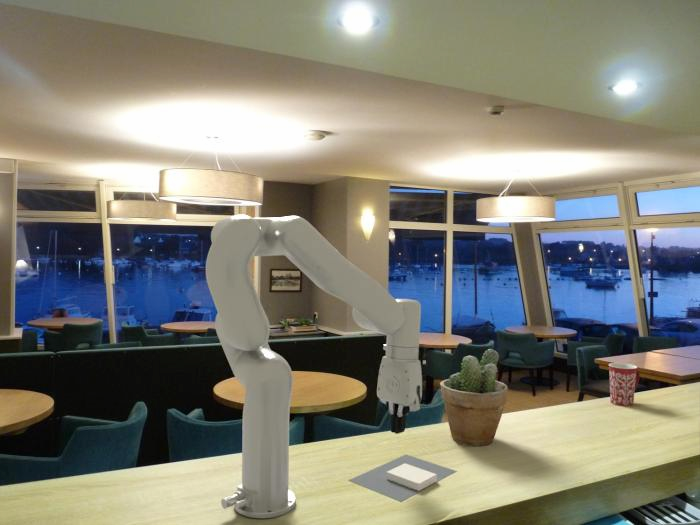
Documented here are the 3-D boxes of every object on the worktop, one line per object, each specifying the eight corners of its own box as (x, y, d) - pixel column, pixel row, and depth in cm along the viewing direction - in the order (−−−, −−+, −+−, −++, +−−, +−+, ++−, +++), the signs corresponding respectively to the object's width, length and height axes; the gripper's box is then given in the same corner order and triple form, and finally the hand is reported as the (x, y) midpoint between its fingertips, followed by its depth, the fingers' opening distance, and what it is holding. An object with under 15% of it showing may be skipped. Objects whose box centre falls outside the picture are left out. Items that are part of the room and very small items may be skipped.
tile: (386, 479, 125) (418, 491, 119) (386, 471, 125) (418, 483, 119) (404, 470, 130) (436, 481, 124) (404, 463, 130) (436, 474, 124)
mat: (401, 503, 114) (401, 501, 114) (348, 482, 124) (348, 480, 124) (456, 472, 130) (456, 471, 130) (405, 455, 140) (405, 454, 140)
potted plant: (496, 456, 141) (498, 360, 140) (428, 443, 150) (430, 352, 149) (513, 436, 157) (515, 349, 156) (451, 424, 166) (453, 343, 165)
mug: (623, 408, 186) (624, 369, 186) (601, 401, 195) (602, 363, 194) (649, 404, 191) (650, 366, 191) (627, 397, 200) (628, 361, 199)
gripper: (367, 349, 128) (362, 427, 128) (419, 359, 118) (414, 444, 118) (387, 346, 134) (382, 421, 134) (438, 356, 123) (434, 437, 124)
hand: (397, 431), depth 126 cm, fingers closed
